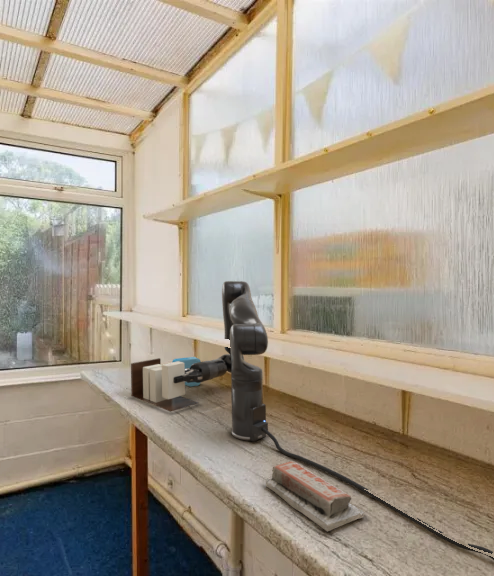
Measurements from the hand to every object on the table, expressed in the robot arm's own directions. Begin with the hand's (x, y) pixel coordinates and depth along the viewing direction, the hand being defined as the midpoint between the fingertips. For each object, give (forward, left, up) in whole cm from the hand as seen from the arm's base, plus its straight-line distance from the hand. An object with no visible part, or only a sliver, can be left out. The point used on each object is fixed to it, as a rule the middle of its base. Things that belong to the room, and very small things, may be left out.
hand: (170, 379), depth 140 cm
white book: (+12, -1, -9) cm, 15 cm away
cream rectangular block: (+7, -1, -9) cm, 12 cm away
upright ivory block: (0, -1, -6) cm, 7 cm away
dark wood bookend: (+7, -2, -10) cm, 13 cm away
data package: (+17, -23, -11) cm, 31 cm away
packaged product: (-66, +16, -11) cm, 68 cm away
